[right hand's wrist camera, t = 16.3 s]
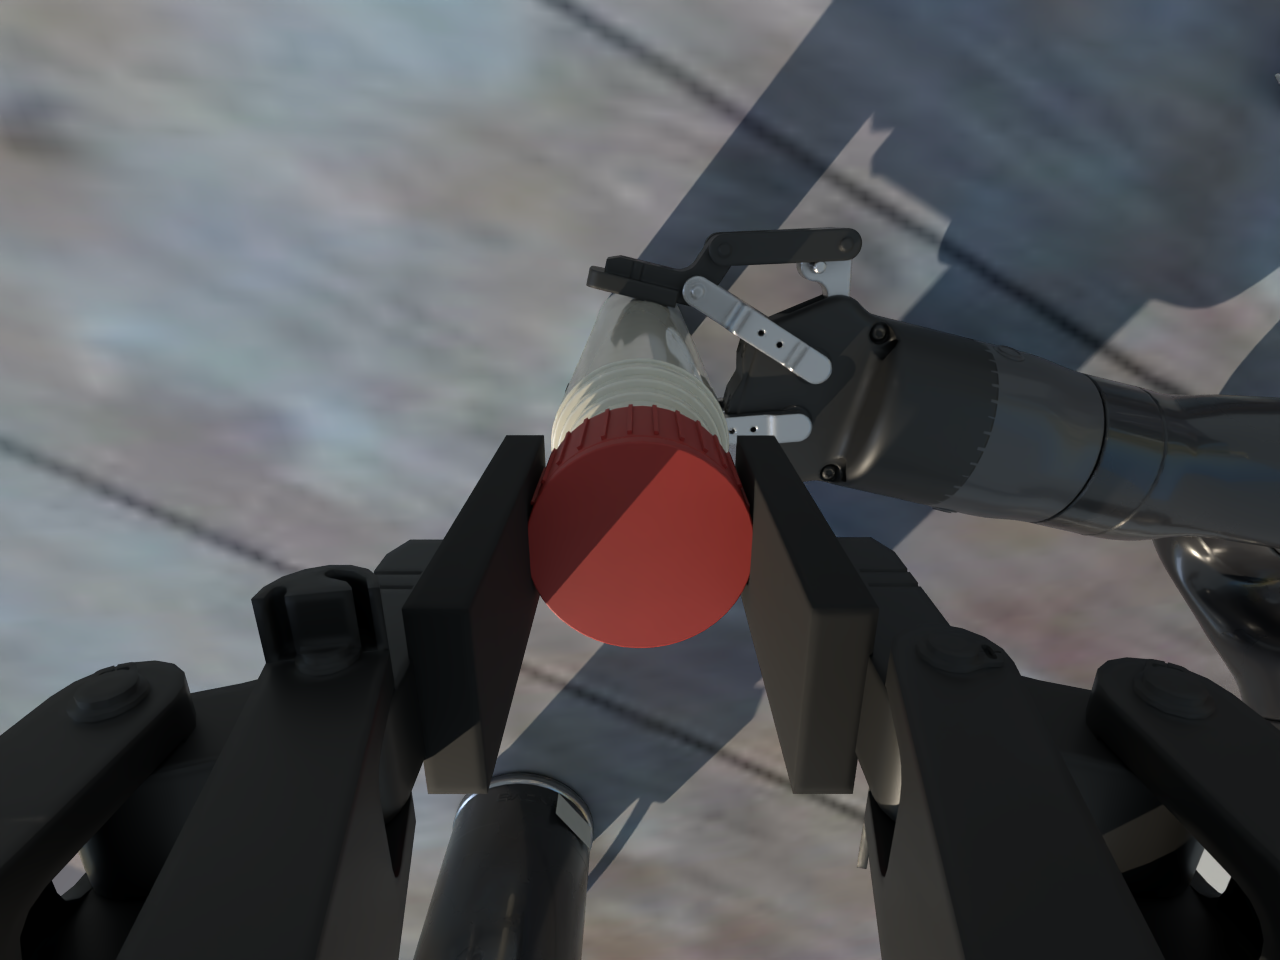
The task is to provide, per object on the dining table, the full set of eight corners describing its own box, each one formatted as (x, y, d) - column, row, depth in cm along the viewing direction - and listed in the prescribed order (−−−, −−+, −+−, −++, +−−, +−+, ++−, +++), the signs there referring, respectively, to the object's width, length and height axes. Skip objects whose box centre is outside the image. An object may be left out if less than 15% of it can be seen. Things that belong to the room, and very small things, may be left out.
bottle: (614, 270, 34) (562, 379, 11) (697, 304, 35) (807, 471, 12) (584, 354, 36) (485, 599, 13) (664, 385, 36) (705, 672, 13)
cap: (543, 585, 15) (526, 648, 13) (537, 399, 13) (516, 435, 11) (732, 589, 15) (749, 653, 13) (747, 404, 13) (768, 441, 11)
